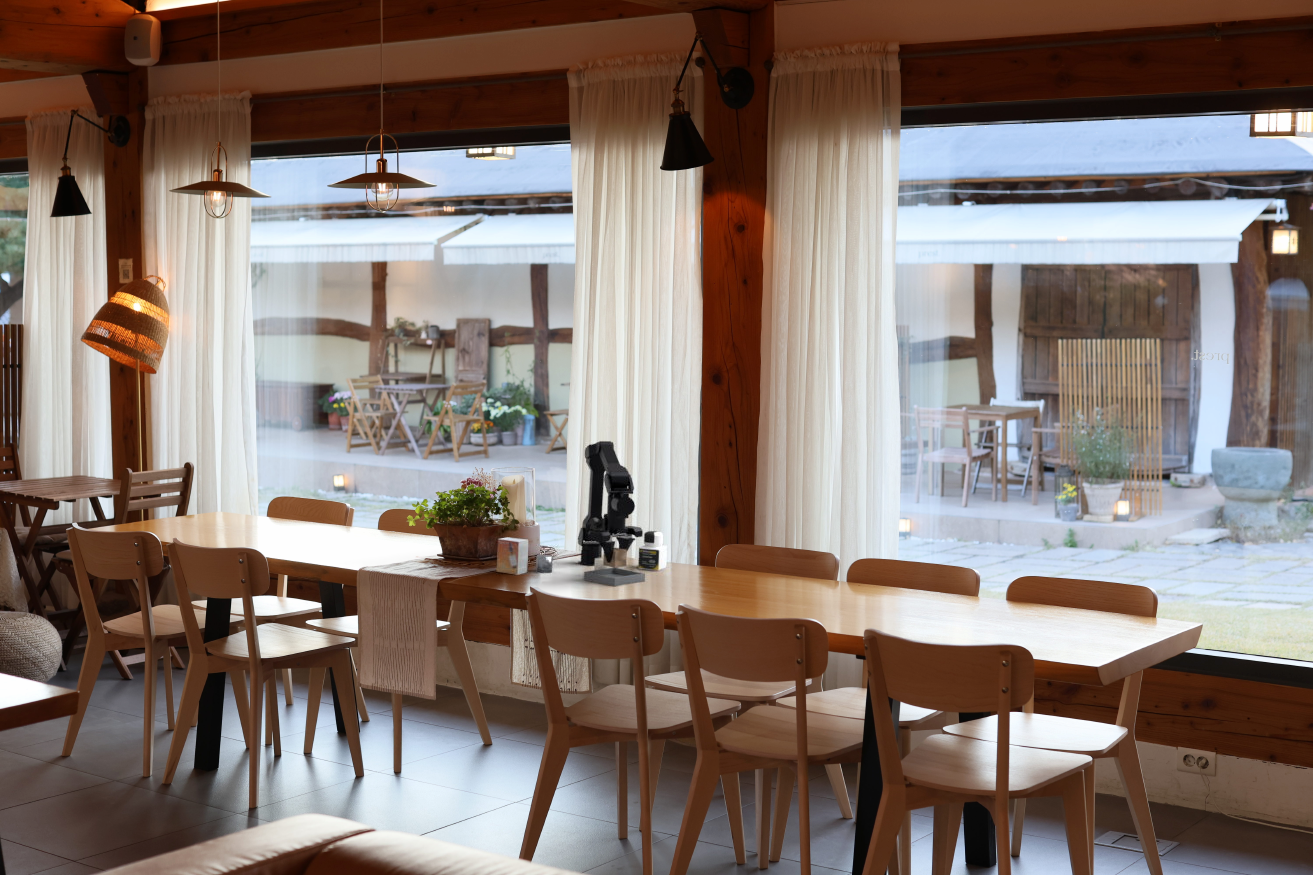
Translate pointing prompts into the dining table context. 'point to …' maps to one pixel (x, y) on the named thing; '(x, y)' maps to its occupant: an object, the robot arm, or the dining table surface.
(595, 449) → the robot arm
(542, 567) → the slate cylinder
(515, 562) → the small box
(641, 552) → the medicine bottle
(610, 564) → the walnut block
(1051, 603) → the dining table surface
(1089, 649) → the dining table surface
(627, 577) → the gray tray
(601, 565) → the ivory round canister
